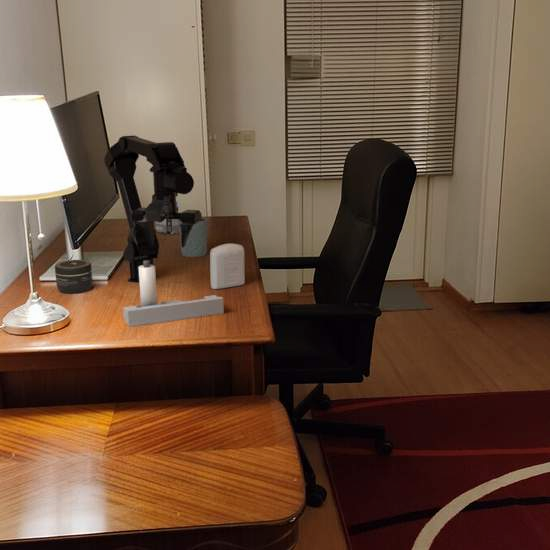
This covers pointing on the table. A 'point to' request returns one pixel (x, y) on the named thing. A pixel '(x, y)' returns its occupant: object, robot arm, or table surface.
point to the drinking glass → (195, 239)
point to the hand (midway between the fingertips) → (167, 246)
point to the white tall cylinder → (147, 284)
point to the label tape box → (168, 225)
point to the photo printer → (227, 266)
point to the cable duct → (173, 311)
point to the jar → (73, 276)
